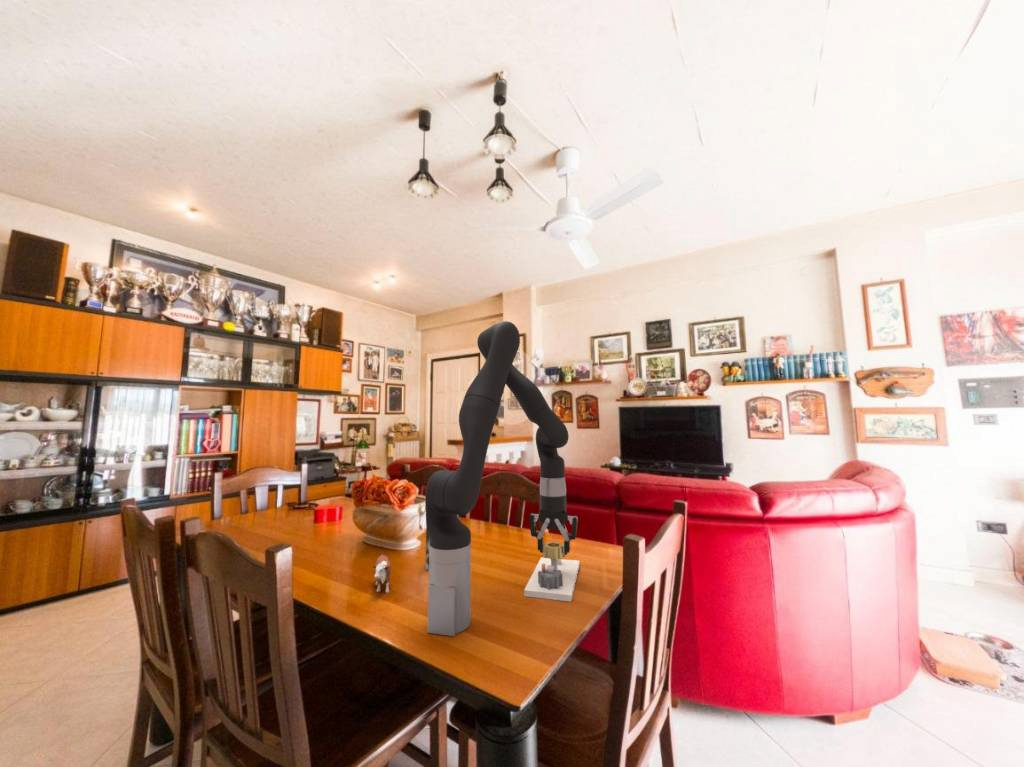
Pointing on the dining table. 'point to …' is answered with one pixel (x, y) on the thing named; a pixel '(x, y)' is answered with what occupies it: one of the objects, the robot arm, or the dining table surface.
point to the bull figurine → (382, 572)
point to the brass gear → (553, 550)
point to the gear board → (554, 593)
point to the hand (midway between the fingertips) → (553, 552)
